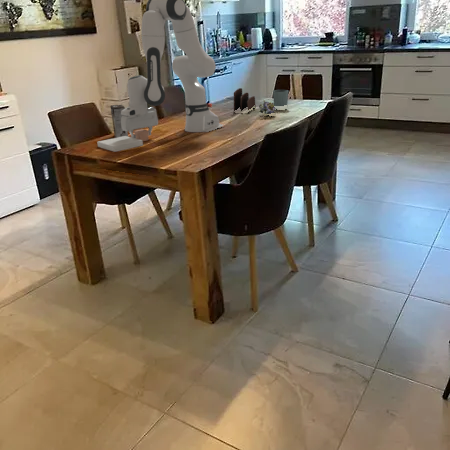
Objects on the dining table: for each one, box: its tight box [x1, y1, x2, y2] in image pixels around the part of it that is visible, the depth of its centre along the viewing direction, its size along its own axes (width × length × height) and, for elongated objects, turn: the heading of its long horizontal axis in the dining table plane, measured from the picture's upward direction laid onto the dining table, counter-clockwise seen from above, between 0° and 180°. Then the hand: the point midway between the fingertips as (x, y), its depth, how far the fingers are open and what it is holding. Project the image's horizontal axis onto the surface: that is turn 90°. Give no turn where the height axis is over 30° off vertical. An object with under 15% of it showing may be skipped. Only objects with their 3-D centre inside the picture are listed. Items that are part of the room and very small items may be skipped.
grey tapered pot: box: [272, 89, 290, 106], centre depth 309 cm, size 10×10×12 cm
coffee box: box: [109, 104, 129, 138], centre depth 251 cm, size 9×6×16 cm
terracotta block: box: [133, 128, 150, 142], centre depth 243 cm, size 5×5×5 cm
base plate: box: [96, 135, 144, 152], centre depth 233 cm, size 16×16×2 cm
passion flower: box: [258, 99, 276, 115], centre depth 289 cm, size 11×11×12 cm
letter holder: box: [233, 88, 256, 112], centre depth 310 cm, size 10×20×14 cm, turn 163°
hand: (141, 136), depth 243 cm, fingers open, 8 cm apart
